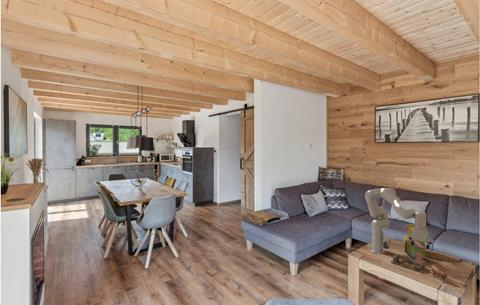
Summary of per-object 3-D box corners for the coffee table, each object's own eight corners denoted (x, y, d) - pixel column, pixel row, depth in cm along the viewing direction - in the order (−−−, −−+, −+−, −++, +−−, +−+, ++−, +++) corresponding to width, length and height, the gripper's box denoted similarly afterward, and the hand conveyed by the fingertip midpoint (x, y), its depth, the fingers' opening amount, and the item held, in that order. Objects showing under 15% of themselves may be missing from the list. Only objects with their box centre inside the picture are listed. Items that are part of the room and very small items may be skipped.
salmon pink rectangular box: (413, 269, 196) (413, 253, 196) (415, 265, 202) (415, 250, 201) (420, 271, 193) (421, 255, 192) (422, 267, 198) (423, 252, 197)
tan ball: (397, 263, 206) (398, 259, 206) (399, 261, 209) (399, 257, 208) (402, 264, 203) (402, 260, 203) (403, 263, 206) (404, 259, 206)
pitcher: (401, 251, 228) (403, 226, 227) (403, 246, 242) (405, 221, 241) (423, 258, 217) (426, 231, 216) (425, 251, 231) (427, 226, 230)
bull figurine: (432, 273, 193) (432, 263, 192) (448, 283, 179) (448, 272, 179) (427, 273, 192) (427, 263, 192) (443, 283, 179) (443, 273, 178)
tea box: (425, 264, 206) (426, 247, 205) (412, 263, 208) (412, 246, 207) (416, 255, 221) (416, 240, 220) (404, 255, 223) (404, 239, 222)
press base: (390, 264, 206) (391, 257, 206) (394, 259, 215) (395, 252, 214) (422, 274, 190) (422, 267, 190) (425, 269, 198) (425, 262, 198)
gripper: (406, 225, 198) (406, 245, 199) (432, 230, 186) (432, 252, 187) (408, 223, 204) (408, 242, 204) (434, 228, 191) (434, 249, 192)
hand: (419, 247), depth 195 cm, fingers open, 9 cm apart
